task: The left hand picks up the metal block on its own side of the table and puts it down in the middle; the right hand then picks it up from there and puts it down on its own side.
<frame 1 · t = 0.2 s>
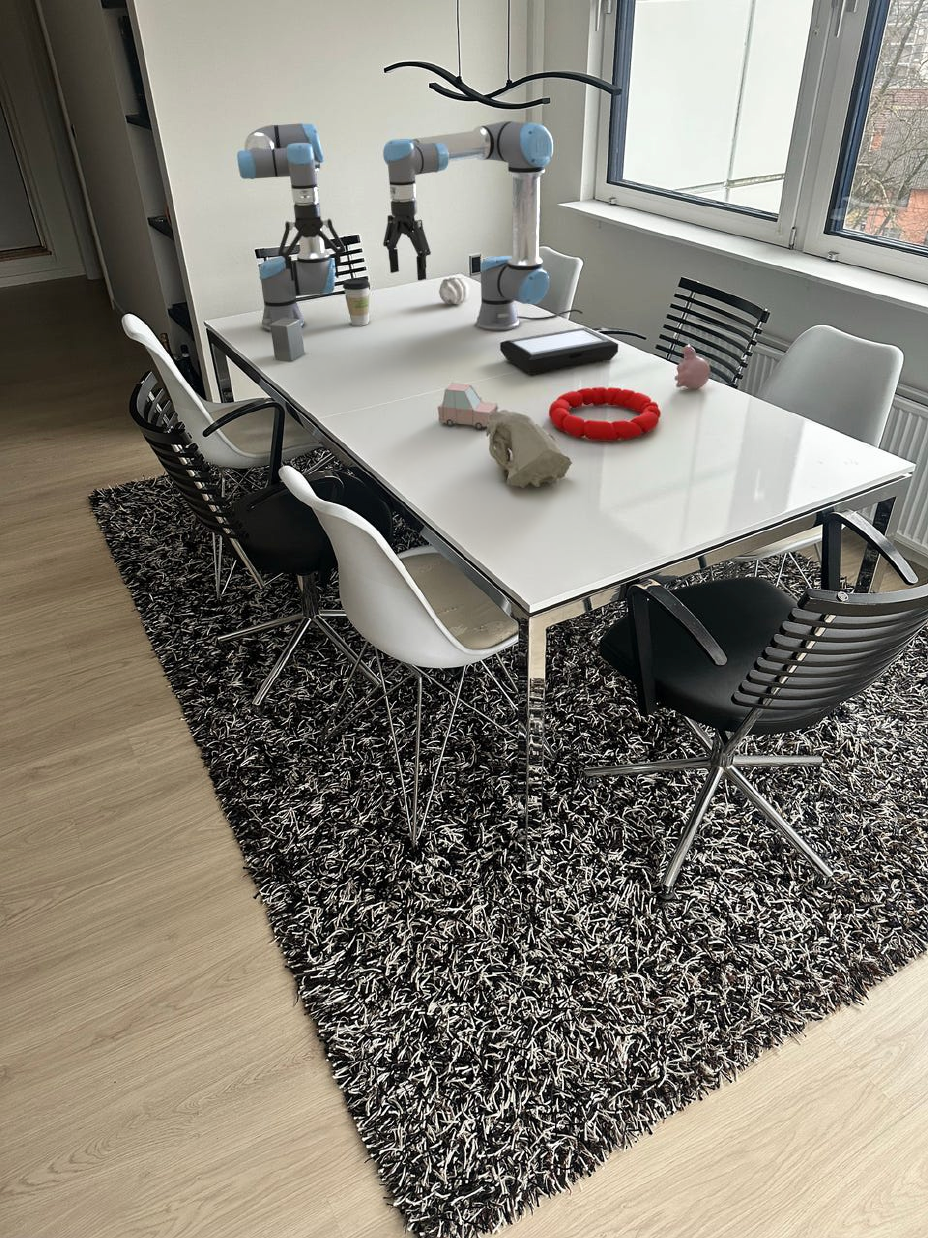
left hand: (315, 278, 273), 27 cm above the table, tool pointing down, fingers open, 13 cm apart
right hand: (408, 275, 271), 28 cm above the table, tool pointing down, fingers open, 13 cm apart
decorative ring: (603, 422, 244), on the table
toy car: (468, 423, 246), on the table
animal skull: (520, 470, 220), on the table
block: (290, 356, 298), on the table
figurine: (690, 388, 263), on the table
seashell: (455, 304, 344), on the table
coffee cup: (360, 323, 327), on the table
electronic device: (558, 360, 287), on the table
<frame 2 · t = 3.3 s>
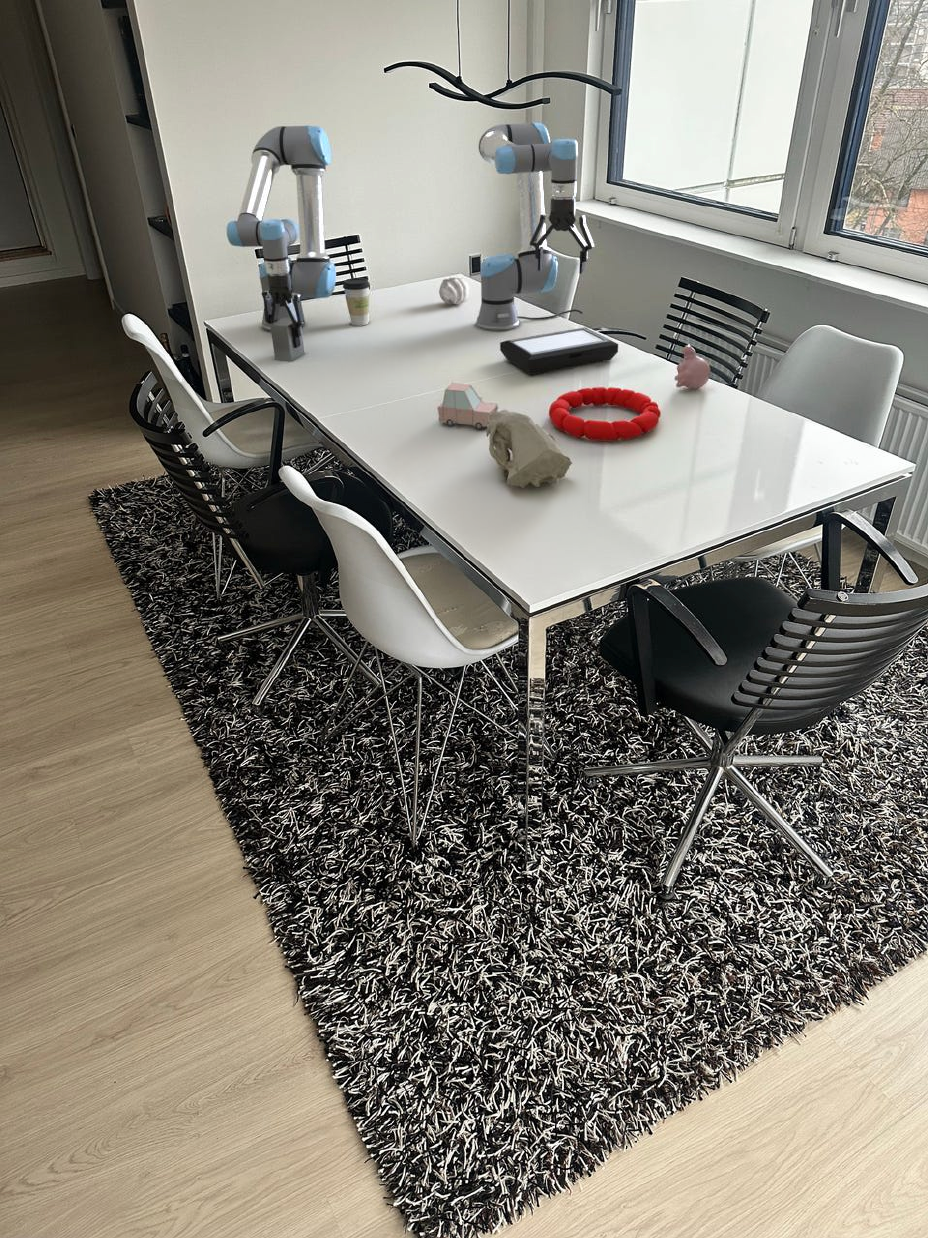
left hand: (288, 345, 296), 4 cm above the table, tool pointing down, fingers closed on block, 6 cm apart
right hand: (560, 271, 280), 25 cm above the table, tool pointing down, fingers open, 13 cm apart
block: (290, 356, 298), on the table, touching left hand
everything else where it was.
when the left hand's fingers open (5 cm above the table, at t = 7.4 s): block drops 1 cm, on the table.
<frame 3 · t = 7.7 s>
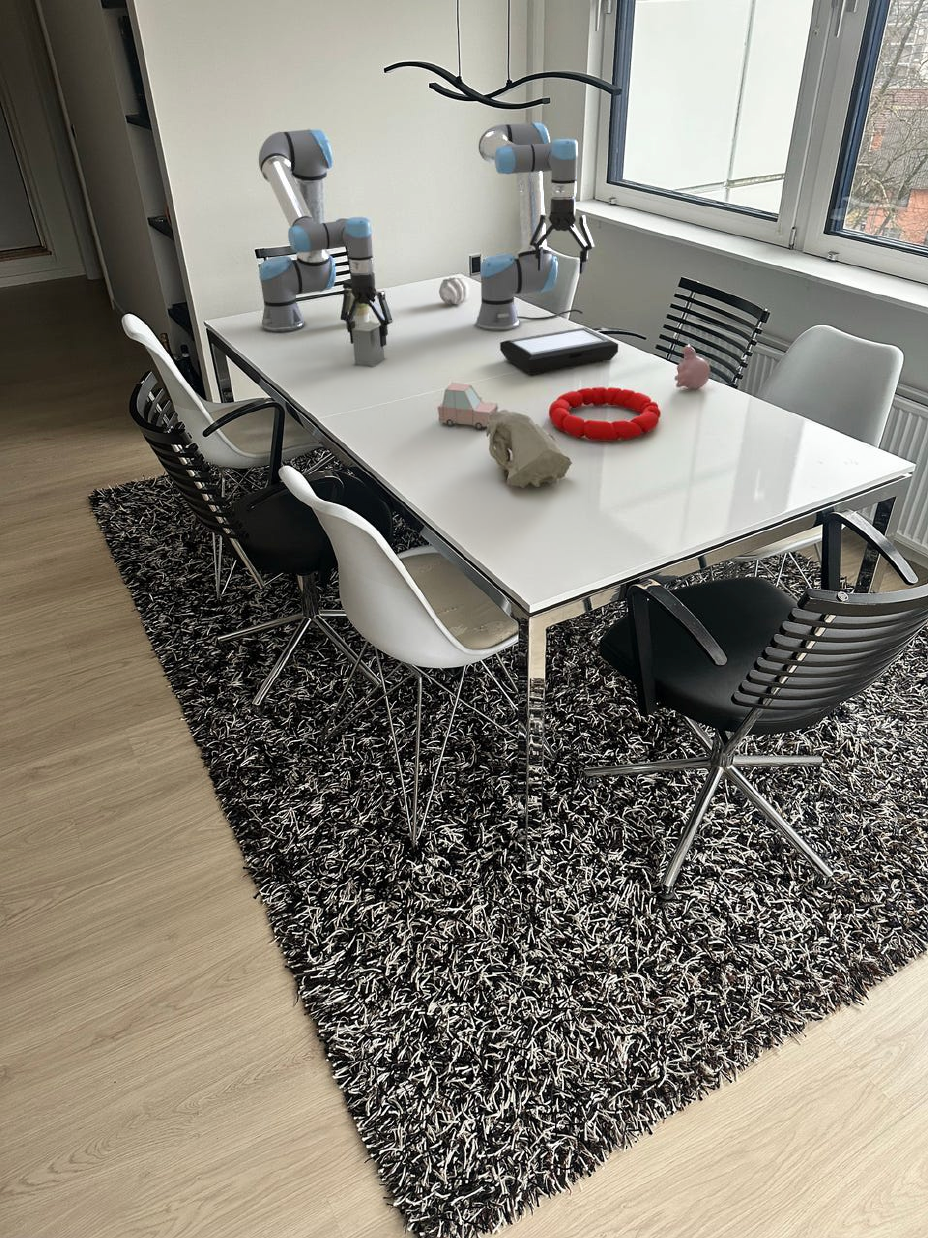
left hand: (368, 343, 288), 6 cm above the table, tool pointing down, fingers open, 10 cm apart
right hand: (560, 271, 280), 25 cm above the table, tool pointing down, fingers open, 13 cm apart
block: (370, 361, 291), on the table
everything else where it was.
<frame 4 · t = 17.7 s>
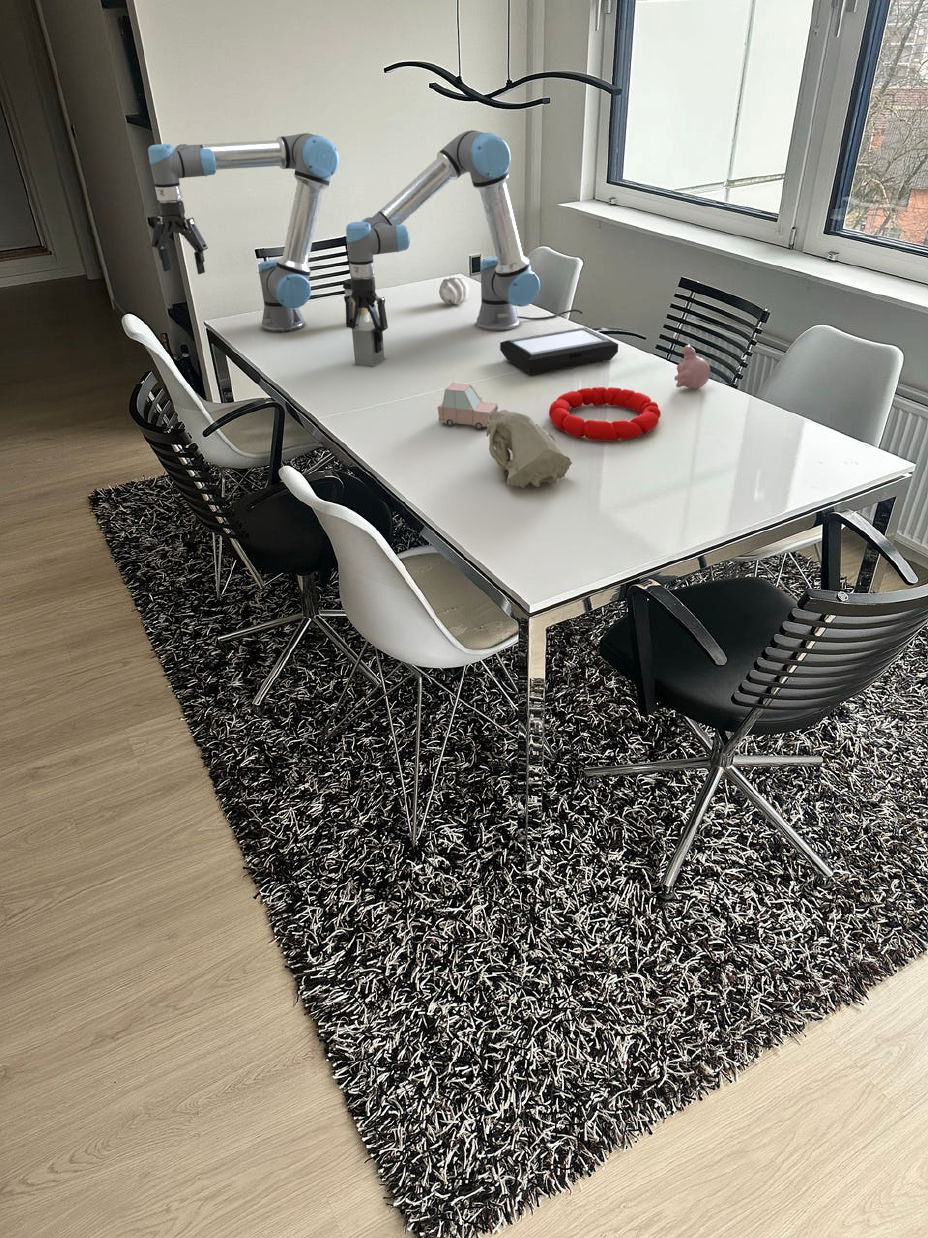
left hand: (184, 271, 290), 26 cm above the table, tool pointing down, fingers open, 13 cm apart
right hand: (369, 350, 289), 4 cm above the table, tool pointing down, fingers closed on block, 6 cm apart
block: (370, 361, 291), on the table, touching right hand
everything else where it was.
when the right hand's fingers open (5 cm above the table, at t = 22.3 s): block drops 1 cm, on the table.
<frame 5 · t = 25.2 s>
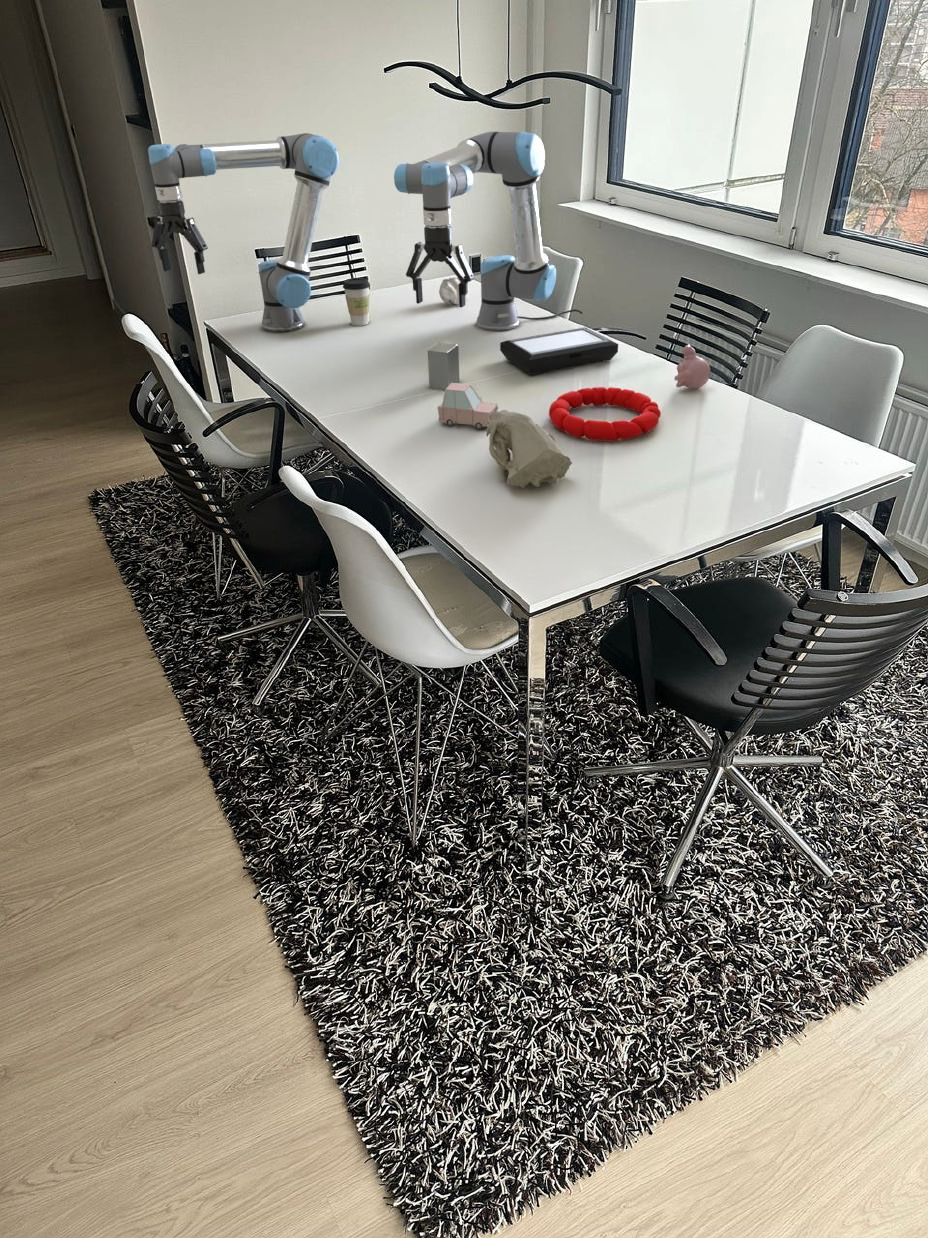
left hand: (184, 271, 290), 26 cm above the table, tool pointing down, fingers open, 13 cm apart
right hand: (440, 304, 258), 24 cm above the table, tool pointing down, fingers open, 13 cm apart
block: (444, 384, 272), on the table
everything else where it was.
at the end: block inside the target area (0.1 cm from its centre), on the table; block tilted 0°; the two hands never held the block at the same time; the left hand is holding nothing; the right hand is holding nothing; block at rest at the end (0.0 cm/s) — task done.
